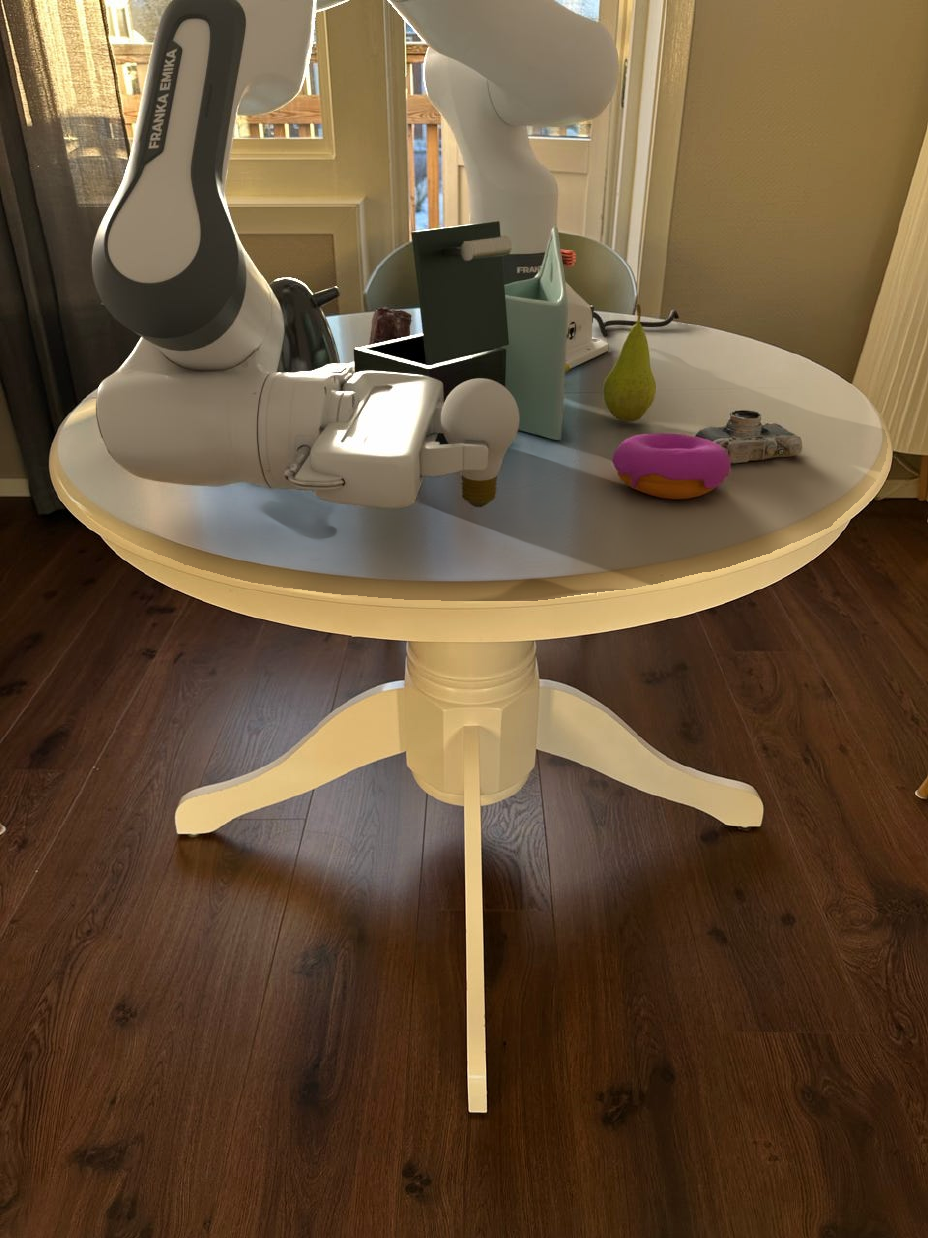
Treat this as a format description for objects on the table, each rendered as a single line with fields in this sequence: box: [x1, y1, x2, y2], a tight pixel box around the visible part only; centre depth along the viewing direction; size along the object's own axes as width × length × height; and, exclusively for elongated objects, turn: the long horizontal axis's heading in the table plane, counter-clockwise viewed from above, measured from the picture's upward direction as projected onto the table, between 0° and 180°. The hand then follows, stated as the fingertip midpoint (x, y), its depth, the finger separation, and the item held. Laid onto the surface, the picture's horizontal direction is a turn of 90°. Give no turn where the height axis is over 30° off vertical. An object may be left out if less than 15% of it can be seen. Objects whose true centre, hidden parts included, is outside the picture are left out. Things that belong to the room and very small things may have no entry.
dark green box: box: [353, 333, 506, 445], centre depth 91 cm, size 11×11×10 cm
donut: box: [612, 432, 732, 500], centre depth 83 cm, size 10×10×5 cm
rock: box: [368, 306, 413, 346], centre depth 117 cm, size 11×6×8 cm, turn 173°
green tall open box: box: [500, 225, 568, 441], centre depth 97 cm, size 16×8×20 cm, turn 5°
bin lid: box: [410, 221, 512, 364], centre depth 82 cm, size 11×11×4 cm
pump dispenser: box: [268, 277, 341, 373], centre depth 95 cm, size 10×10×15 cm
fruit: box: [602, 303, 657, 422], centre depth 98 cm, size 6×6×12 cm
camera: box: [694, 409, 803, 465], centre depth 91 cm, size 5×10×4 cm, turn 100°
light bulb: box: [441, 378, 519, 508], centre depth 69 cm, size 6×6×10 cm
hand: (491, 438), depth 69 cm, fingers closed on light bulb, 6 cm apart
